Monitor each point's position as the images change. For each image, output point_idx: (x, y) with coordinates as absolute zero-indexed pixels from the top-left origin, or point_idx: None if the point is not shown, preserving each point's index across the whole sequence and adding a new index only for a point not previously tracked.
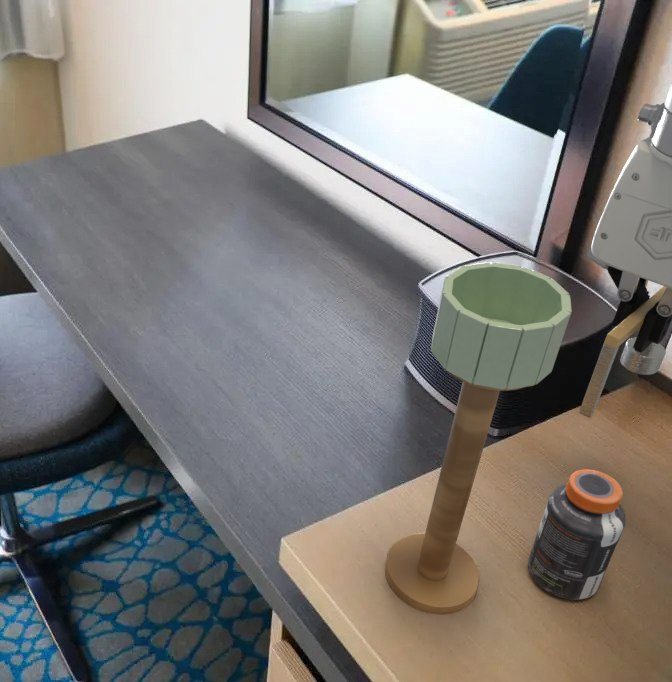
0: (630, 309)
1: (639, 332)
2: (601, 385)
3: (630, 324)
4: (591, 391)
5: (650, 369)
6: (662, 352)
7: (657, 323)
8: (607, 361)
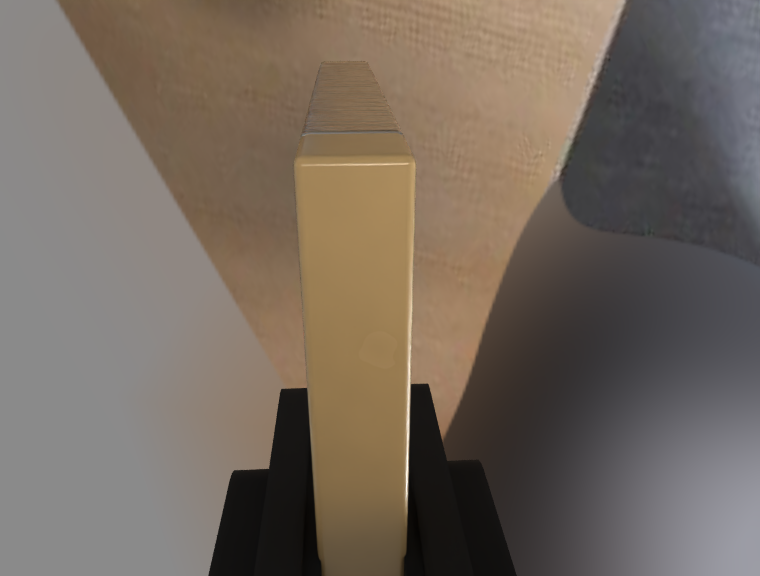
0: (427, 563)
1: None
2: (317, 83)
3: (342, 420)
4: (352, 74)
5: None
6: None
7: (252, 566)
8: (329, 108)
